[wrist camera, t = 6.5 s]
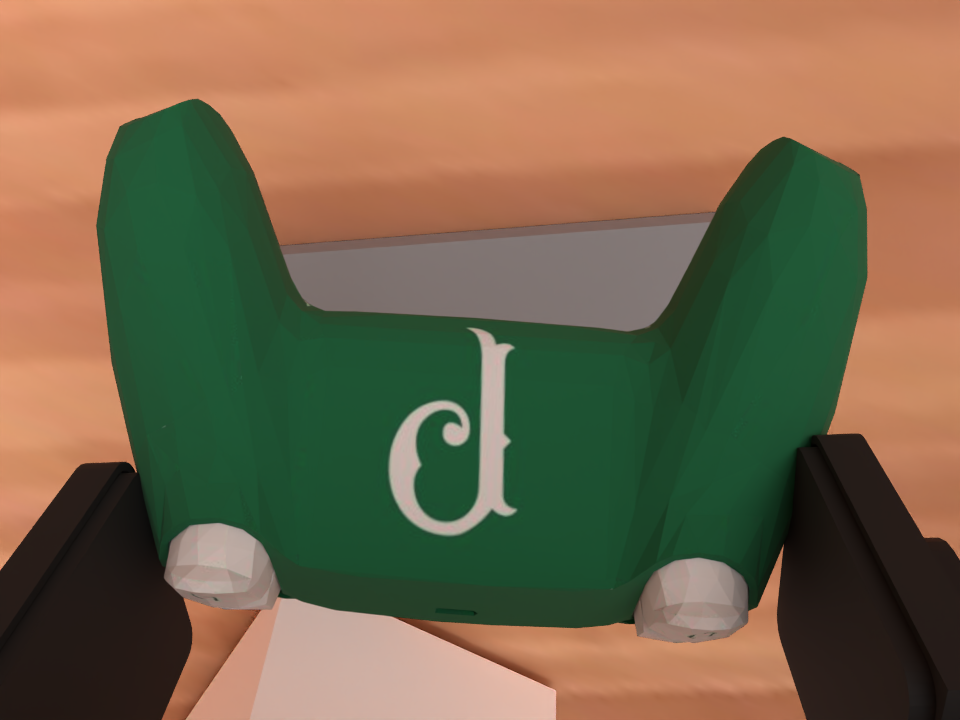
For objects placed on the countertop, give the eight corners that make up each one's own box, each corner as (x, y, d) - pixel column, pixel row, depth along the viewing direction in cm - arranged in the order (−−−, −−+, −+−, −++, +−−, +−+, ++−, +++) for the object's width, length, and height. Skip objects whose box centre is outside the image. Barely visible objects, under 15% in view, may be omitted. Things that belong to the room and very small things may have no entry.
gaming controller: (194, 207, 14) (125, 601, 13) (97, 65, 11) (-16, 591, 9) (783, 246, 14) (792, 650, 13) (888, 116, 11) (920, 661, 9)
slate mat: (715, 212, 27) (720, 221, 26) (706, 557, 33) (710, 572, 32) (186, 252, 28) (177, 262, 28) (271, 578, 34) (266, 593, 34)
